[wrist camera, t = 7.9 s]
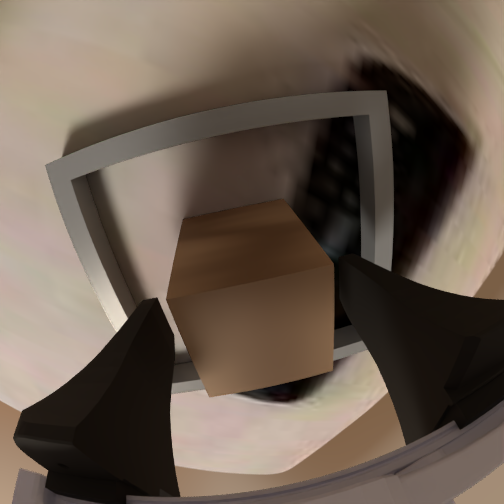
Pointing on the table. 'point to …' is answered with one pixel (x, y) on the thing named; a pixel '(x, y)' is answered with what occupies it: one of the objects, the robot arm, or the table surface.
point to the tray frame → (214, 124)
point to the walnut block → (252, 298)
